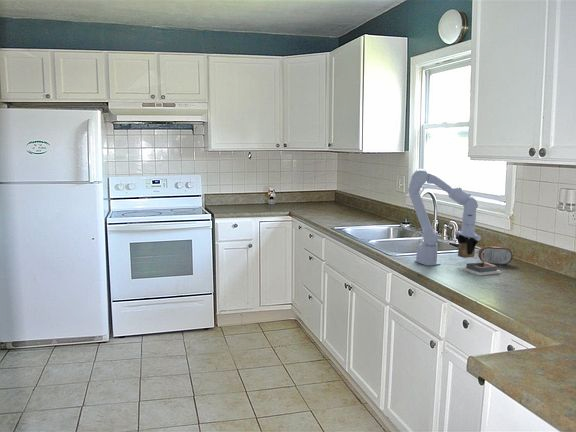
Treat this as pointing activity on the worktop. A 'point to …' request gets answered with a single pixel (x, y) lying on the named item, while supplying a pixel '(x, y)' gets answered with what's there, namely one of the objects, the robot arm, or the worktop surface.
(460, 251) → the plug block
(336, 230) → the worktop surface
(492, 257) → the tin
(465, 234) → the robot arm
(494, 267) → the grey tray
